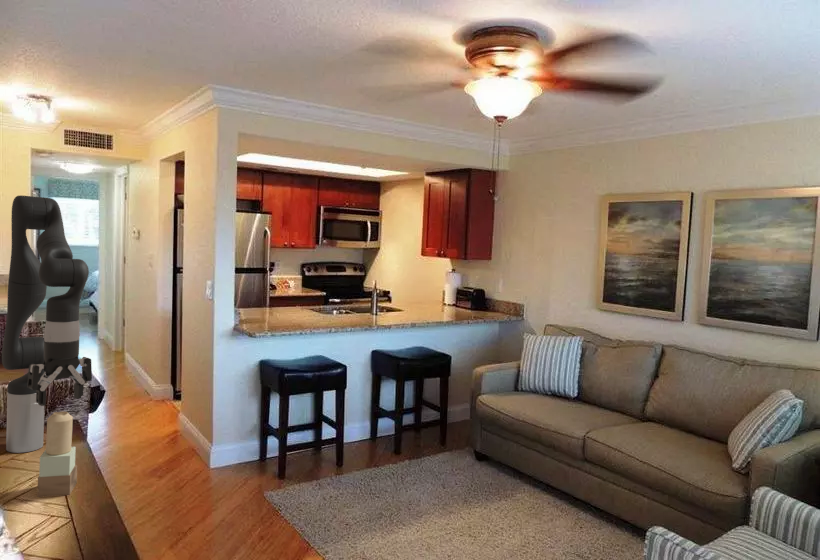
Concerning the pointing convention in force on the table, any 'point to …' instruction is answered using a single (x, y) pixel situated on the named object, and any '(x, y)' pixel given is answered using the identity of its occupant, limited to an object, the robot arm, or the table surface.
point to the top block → (57, 464)
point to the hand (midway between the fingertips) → (60, 401)
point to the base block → (57, 484)
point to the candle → (59, 433)
